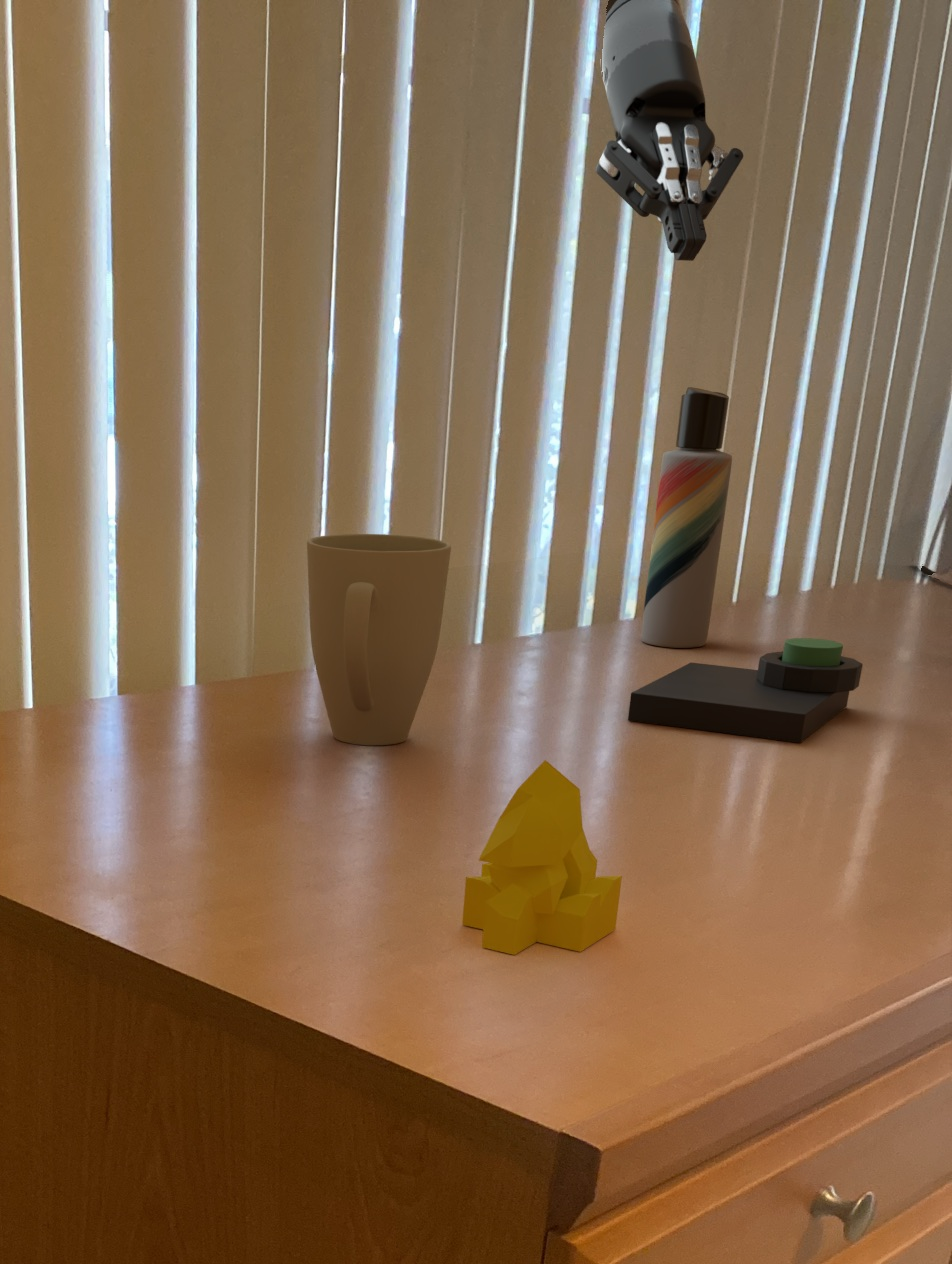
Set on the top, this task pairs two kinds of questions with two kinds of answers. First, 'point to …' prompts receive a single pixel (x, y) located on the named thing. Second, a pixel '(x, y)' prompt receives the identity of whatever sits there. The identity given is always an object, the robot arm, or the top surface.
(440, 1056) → the top surface
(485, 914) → the yellow faceted pointed figurine
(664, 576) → the lotion bottle
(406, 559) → the mug
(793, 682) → the scale
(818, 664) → the button
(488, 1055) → the top surface
